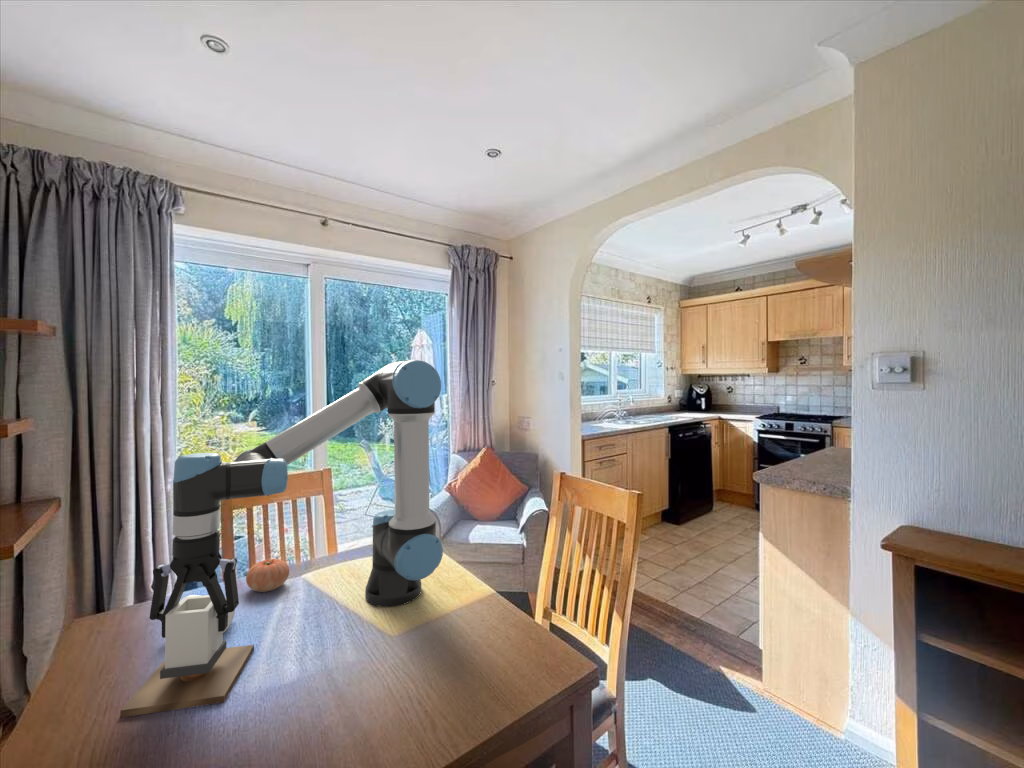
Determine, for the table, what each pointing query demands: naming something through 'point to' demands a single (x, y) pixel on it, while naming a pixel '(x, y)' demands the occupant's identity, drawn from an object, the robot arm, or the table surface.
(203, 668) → the ring
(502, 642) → the table surface
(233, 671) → the peg stacking board
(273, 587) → the pumpkin
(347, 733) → the table surface
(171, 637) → the sleeve
